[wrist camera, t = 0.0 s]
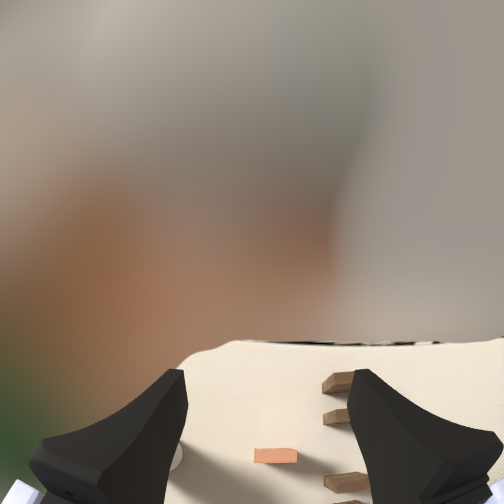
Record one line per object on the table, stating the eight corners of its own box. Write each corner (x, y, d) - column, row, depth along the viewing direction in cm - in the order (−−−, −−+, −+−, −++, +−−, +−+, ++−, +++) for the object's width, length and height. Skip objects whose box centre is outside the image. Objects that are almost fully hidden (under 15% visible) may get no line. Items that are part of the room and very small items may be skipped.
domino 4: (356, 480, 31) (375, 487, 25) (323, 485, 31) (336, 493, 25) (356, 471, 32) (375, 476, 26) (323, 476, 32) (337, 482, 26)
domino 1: (289, 458, 34) (296, 462, 28) (254, 458, 34) (254, 463, 28) (289, 448, 35) (296, 450, 29) (254, 448, 35) (254, 451, 29)
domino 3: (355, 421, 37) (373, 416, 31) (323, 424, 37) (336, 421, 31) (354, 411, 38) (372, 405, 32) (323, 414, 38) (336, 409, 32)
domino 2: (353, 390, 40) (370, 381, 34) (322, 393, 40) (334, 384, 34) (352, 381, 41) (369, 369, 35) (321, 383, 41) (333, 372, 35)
